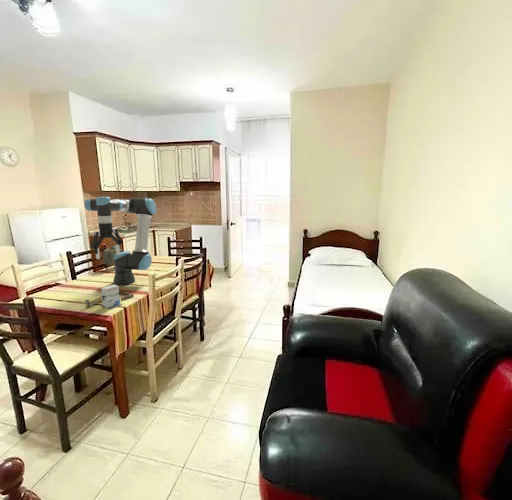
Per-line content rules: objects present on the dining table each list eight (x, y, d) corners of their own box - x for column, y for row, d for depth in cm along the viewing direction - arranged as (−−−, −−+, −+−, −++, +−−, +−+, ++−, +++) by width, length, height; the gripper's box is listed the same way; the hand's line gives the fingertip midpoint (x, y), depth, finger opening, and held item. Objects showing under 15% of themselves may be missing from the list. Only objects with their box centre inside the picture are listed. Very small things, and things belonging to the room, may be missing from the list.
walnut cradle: (119, 292, 208) (119, 285, 207) (133, 296, 201) (133, 289, 199) (102, 298, 197) (101, 291, 196) (116, 302, 190) (115, 295, 189)
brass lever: (110, 296, 199) (110, 290, 198) (88, 307, 180) (87, 300, 180) (107, 296, 199) (106, 289, 198) (84, 307, 181) (83, 300, 180)
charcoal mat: (112, 301, 191) (112, 301, 191) (122, 304, 187) (122, 304, 187) (101, 306, 184) (101, 305, 184) (110, 309, 180) (110, 308, 180)
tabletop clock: (119, 266, 275) (117, 238, 270) (125, 267, 270) (123, 240, 265) (104, 269, 264) (101, 241, 258) (109, 271, 258) (107, 242, 253)
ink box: (115, 302, 190) (113, 284, 188) (120, 303, 188) (118, 285, 185) (102, 306, 183) (100, 287, 181) (107, 308, 181) (105, 289, 178)
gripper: (119, 220, 196) (122, 252, 200) (81, 224, 175) (85, 259, 179) (127, 221, 192) (129, 253, 196) (88, 225, 171) (92, 261, 175)
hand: (108, 256), depth 188 cm, fingers open, 13 cm apart
